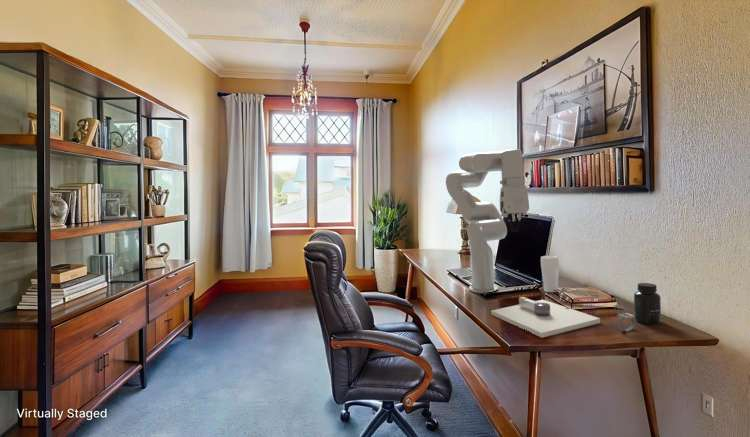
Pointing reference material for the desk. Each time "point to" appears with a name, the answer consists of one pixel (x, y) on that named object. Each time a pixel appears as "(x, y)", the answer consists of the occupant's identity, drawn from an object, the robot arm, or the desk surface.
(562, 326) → the dial plate
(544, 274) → the drinking glass
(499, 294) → the desk surface
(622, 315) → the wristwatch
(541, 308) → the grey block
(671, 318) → the desk surface
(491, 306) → the desk surface
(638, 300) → the supplement bottle
